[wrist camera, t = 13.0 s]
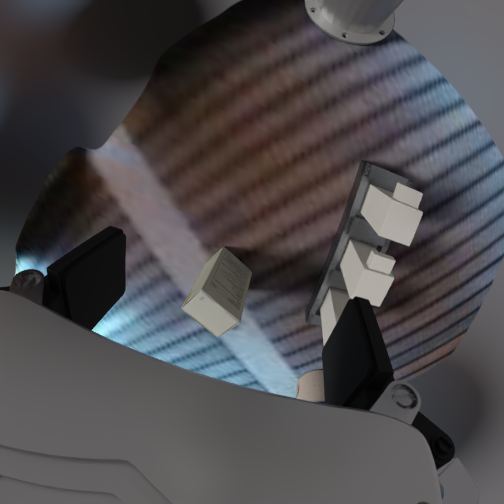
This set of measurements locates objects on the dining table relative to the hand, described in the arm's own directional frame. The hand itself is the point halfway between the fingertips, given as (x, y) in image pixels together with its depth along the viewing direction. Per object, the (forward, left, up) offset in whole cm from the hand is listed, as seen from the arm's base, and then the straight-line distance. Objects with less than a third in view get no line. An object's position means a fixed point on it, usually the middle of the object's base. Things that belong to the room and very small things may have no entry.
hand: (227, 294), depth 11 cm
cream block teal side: (-2, +14, -26) cm, 30 cm away
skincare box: (+15, -3, -28) cm, 32 cm away
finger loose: (+14, +14, -26) cm, 33 cm away
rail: (+6, +14, -28) cm, 32 cm away
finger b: (+6, +14, -26) cm, 30 cm away
